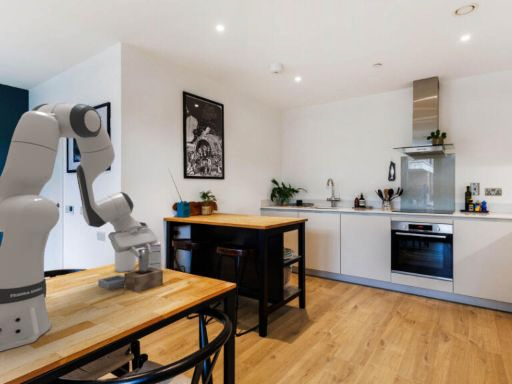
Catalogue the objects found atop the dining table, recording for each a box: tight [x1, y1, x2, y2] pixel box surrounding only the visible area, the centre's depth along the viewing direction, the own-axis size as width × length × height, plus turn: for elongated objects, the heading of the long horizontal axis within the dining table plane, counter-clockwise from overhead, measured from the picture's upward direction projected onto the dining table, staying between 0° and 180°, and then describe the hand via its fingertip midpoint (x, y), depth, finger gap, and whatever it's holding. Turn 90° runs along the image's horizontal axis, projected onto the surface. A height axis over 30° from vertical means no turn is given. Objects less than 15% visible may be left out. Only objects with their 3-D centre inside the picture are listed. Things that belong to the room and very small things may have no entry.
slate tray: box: [97, 274, 124, 291], centre depth 126 cm, size 9×9×2 cm
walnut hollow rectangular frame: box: [123, 267, 164, 293], centre depth 124 cm, size 12×9×6 cm
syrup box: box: [149, 241, 162, 270], centre depth 145 cm, size 6×6×14 cm
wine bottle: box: [114, 250, 137, 273], centre depth 149 cm, size 10×10×30 cm
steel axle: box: [137, 248, 149, 275], centre depth 124 cm, size 4×4×15 cm
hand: (144, 255), depth 124 cm, fingers closed on steel axle, 4 cm apart
